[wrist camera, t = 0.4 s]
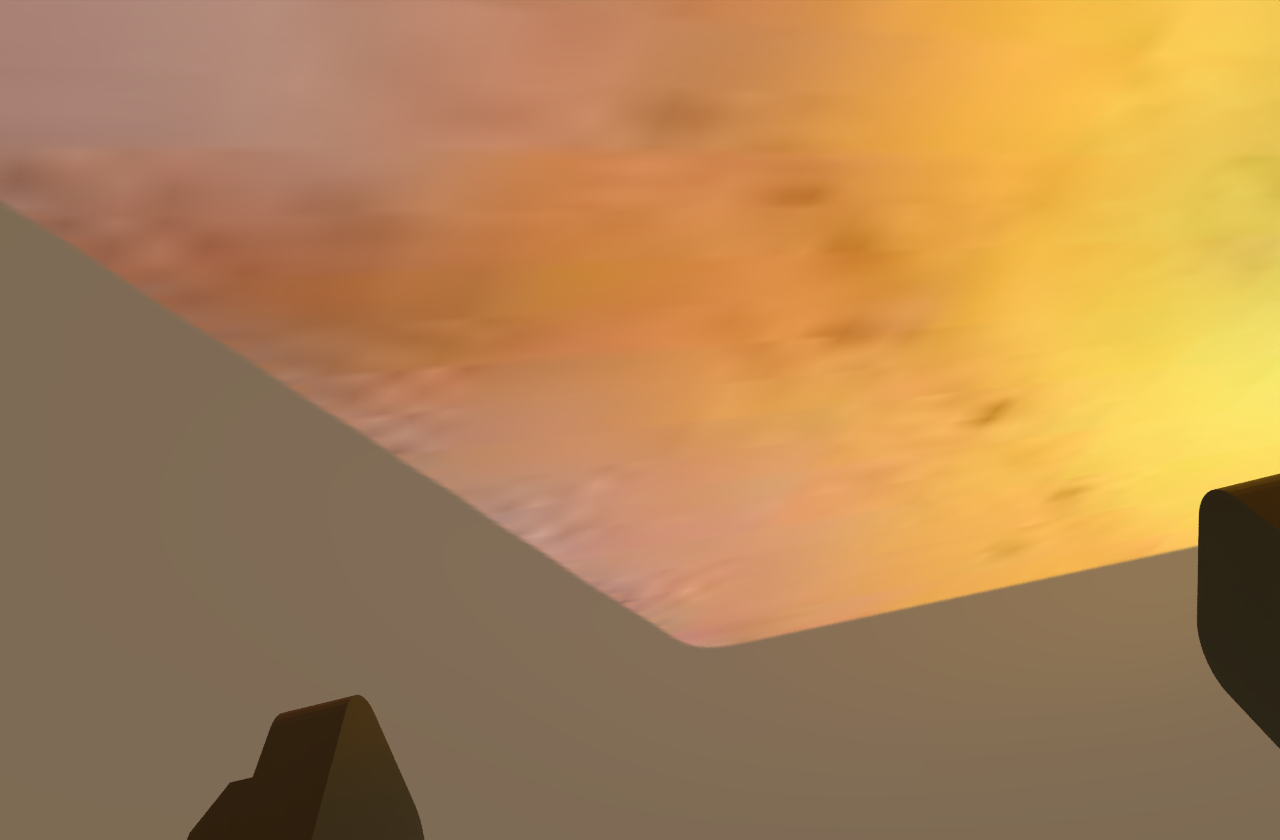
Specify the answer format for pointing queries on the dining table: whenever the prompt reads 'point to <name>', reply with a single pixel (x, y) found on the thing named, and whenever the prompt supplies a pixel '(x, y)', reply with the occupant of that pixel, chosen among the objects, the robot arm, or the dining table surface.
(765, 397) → the dining table surface
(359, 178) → the dining table surface
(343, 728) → the robot arm
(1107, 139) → the dining table surface
